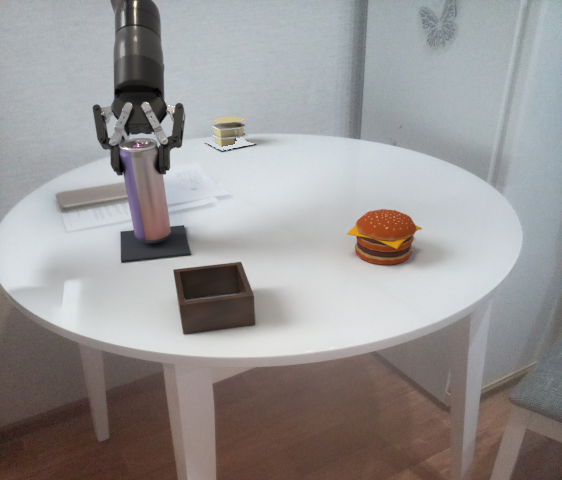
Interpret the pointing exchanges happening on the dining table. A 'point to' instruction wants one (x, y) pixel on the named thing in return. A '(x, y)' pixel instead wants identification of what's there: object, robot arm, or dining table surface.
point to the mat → (154, 246)
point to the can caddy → (216, 309)
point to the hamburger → (384, 236)
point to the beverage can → (145, 189)
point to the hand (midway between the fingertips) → (141, 172)
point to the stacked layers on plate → (228, 130)
